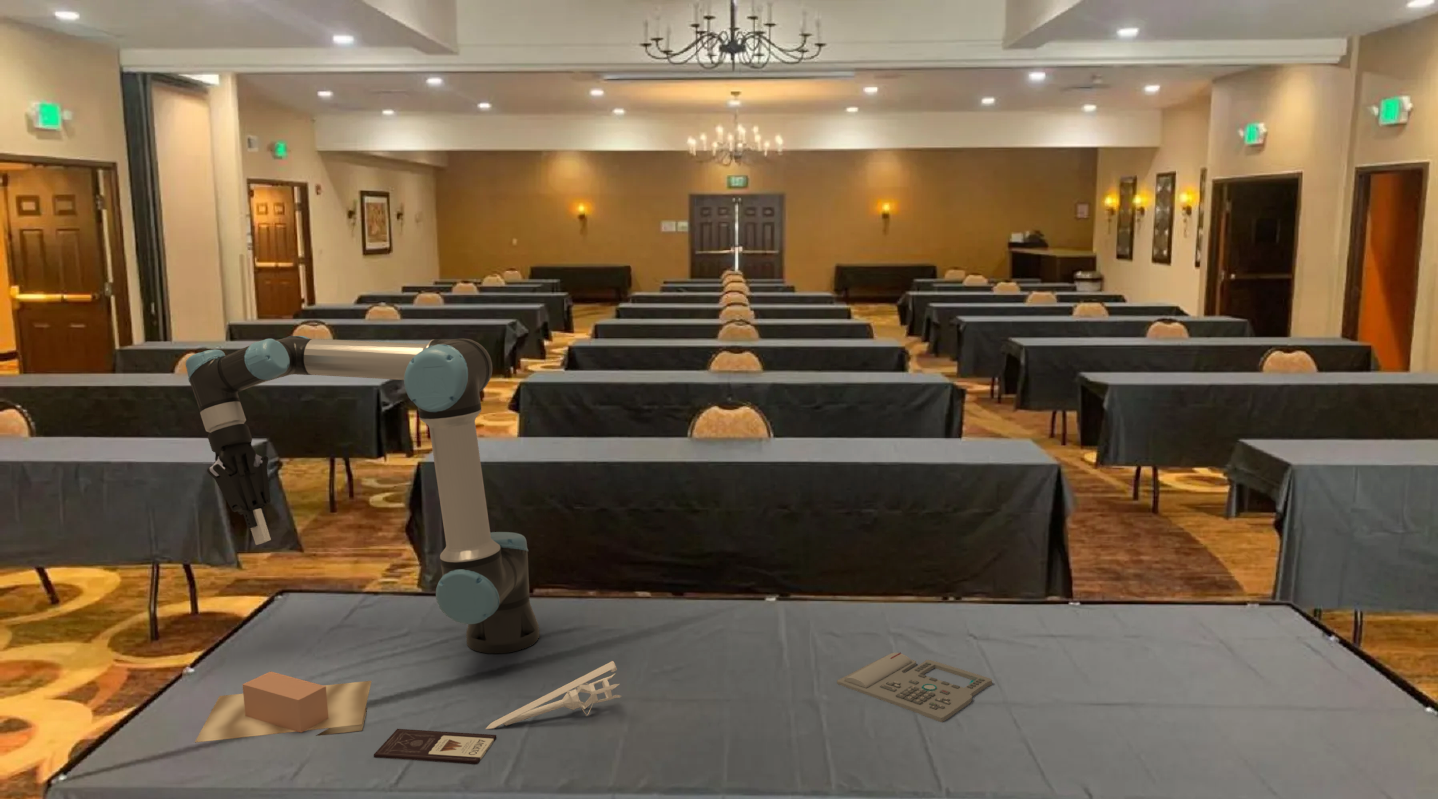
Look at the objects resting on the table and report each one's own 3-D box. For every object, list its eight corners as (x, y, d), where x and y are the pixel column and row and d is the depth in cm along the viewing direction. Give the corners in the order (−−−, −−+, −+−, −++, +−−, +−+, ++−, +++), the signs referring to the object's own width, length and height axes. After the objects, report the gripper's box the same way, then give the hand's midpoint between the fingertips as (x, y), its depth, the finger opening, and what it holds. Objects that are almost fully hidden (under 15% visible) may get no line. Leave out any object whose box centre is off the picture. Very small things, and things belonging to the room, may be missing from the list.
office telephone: (835, 674, 202) (894, 642, 216) (835, 687, 202) (894, 654, 217) (942, 710, 186) (998, 673, 201) (942, 724, 187) (998, 686, 201)
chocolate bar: (397, 728, 186) (496, 734, 183) (397, 733, 186) (496, 740, 183) (373, 754, 177) (477, 761, 174) (374, 759, 177) (477, 766, 174)
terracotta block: (242, 684, 188) (298, 700, 182) (270, 671, 194) (325, 686, 187) (245, 715, 189) (301, 732, 183) (273, 702, 195) (328, 718, 188)
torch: (509, 765, 190) (635, 700, 193) (489, 744, 184) (619, 677, 186) (501, 735, 195) (624, 672, 197) (481, 714, 188) (608, 649, 191)
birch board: (372, 686, 203) (371, 680, 203) (362, 730, 186) (361, 724, 186) (220, 702, 198) (219, 695, 197) (195, 748, 180) (194, 742, 180)
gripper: (241, 430, 217) (277, 540, 215) (185, 438, 205) (222, 554, 203) (266, 418, 213) (302, 530, 212) (211, 426, 202) (248, 544, 200)
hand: (263, 542), depth 208 cm, fingers closed
